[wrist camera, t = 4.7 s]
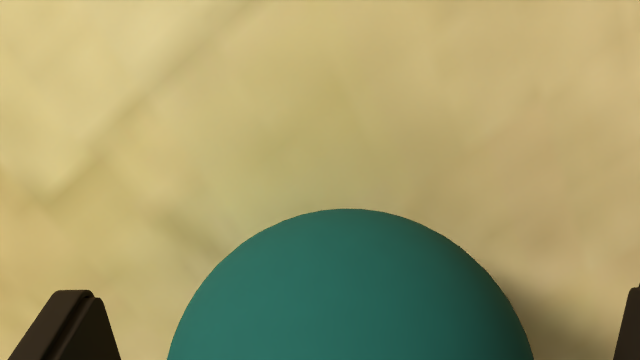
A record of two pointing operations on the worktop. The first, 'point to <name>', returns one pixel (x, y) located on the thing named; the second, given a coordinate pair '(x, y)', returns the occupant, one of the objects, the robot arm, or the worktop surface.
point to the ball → (349, 297)
